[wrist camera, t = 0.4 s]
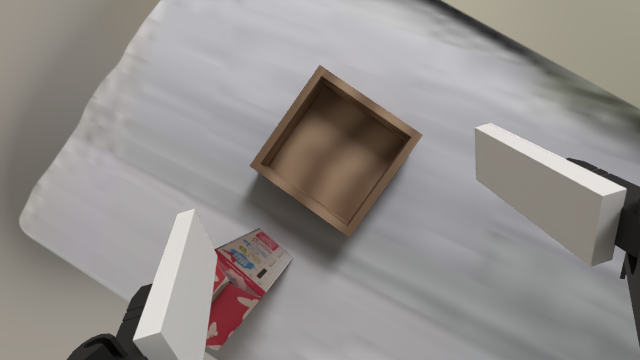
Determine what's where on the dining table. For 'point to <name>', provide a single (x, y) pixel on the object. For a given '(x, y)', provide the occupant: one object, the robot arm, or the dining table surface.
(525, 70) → the dining table surface
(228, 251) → the juice carton
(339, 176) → the walled box
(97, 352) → the robot arm
